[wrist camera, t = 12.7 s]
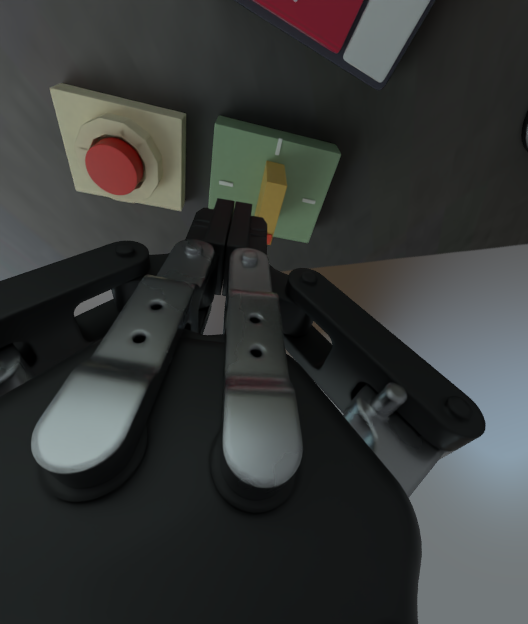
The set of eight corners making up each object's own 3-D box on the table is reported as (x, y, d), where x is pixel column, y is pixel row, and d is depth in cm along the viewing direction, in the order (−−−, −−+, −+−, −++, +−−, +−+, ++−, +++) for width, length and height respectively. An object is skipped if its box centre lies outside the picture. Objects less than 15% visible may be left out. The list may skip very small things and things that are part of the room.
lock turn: (266, 160, 28) (266, 182, 24) (284, 164, 28) (287, 187, 24) (254, 217, 32) (252, 243, 28) (269, 220, 32) (270, 246, 28)
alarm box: (186, 113, 27) (177, 124, 25) (185, 202, 34) (177, 219, 31) (61, 82, 26) (37, 91, 23) (84, 182, 32) (67, 198, 29)
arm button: (141, 143, 26) (134, 151, 25) (145, 190, 29) (139, 199, 28) (89, 131, 25) (79, 138, 24) (99, 181, 28) (90, 190, 27)
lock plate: (336, 143, 29) (342, 153, 27) (305, 230, 36) (307, 244, 34) (218, 113, 27) (214, 122, 25) (210, 212, 35) (206, 225, 32)
